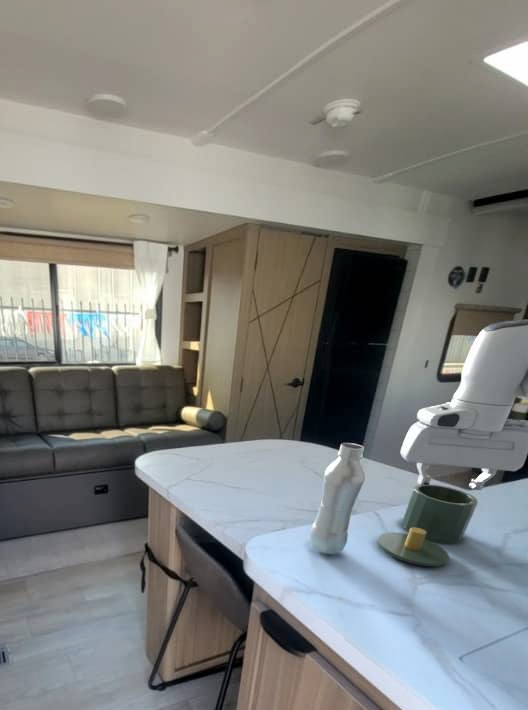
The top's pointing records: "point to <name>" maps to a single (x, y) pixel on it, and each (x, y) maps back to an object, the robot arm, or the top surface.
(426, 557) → the tin lid
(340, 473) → the plastic bottle
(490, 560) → the top surface
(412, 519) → the tin
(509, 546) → the top surface
